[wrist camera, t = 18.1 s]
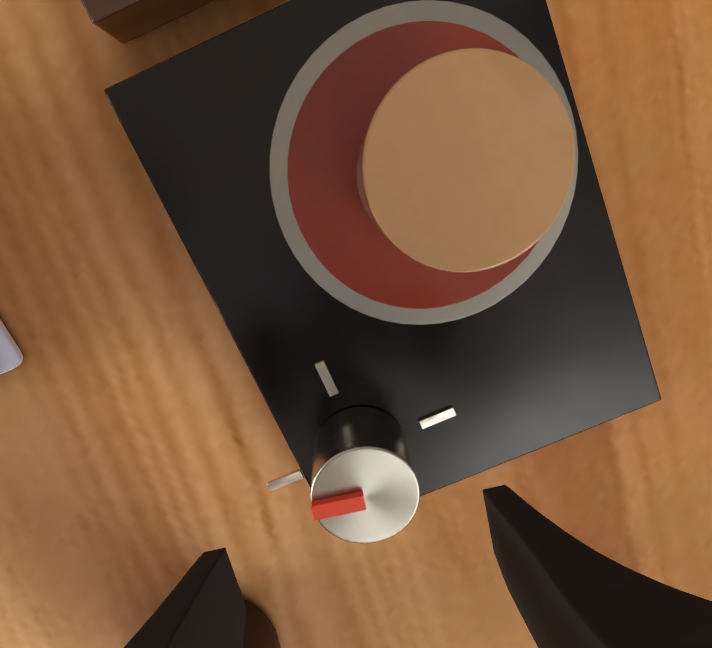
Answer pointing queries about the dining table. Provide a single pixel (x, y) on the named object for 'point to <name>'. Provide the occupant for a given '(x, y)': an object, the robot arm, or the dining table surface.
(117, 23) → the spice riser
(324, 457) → the dial
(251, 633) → the bottle
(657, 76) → the dining table surface
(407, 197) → the cream jar
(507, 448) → the hot plate
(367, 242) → the burner
